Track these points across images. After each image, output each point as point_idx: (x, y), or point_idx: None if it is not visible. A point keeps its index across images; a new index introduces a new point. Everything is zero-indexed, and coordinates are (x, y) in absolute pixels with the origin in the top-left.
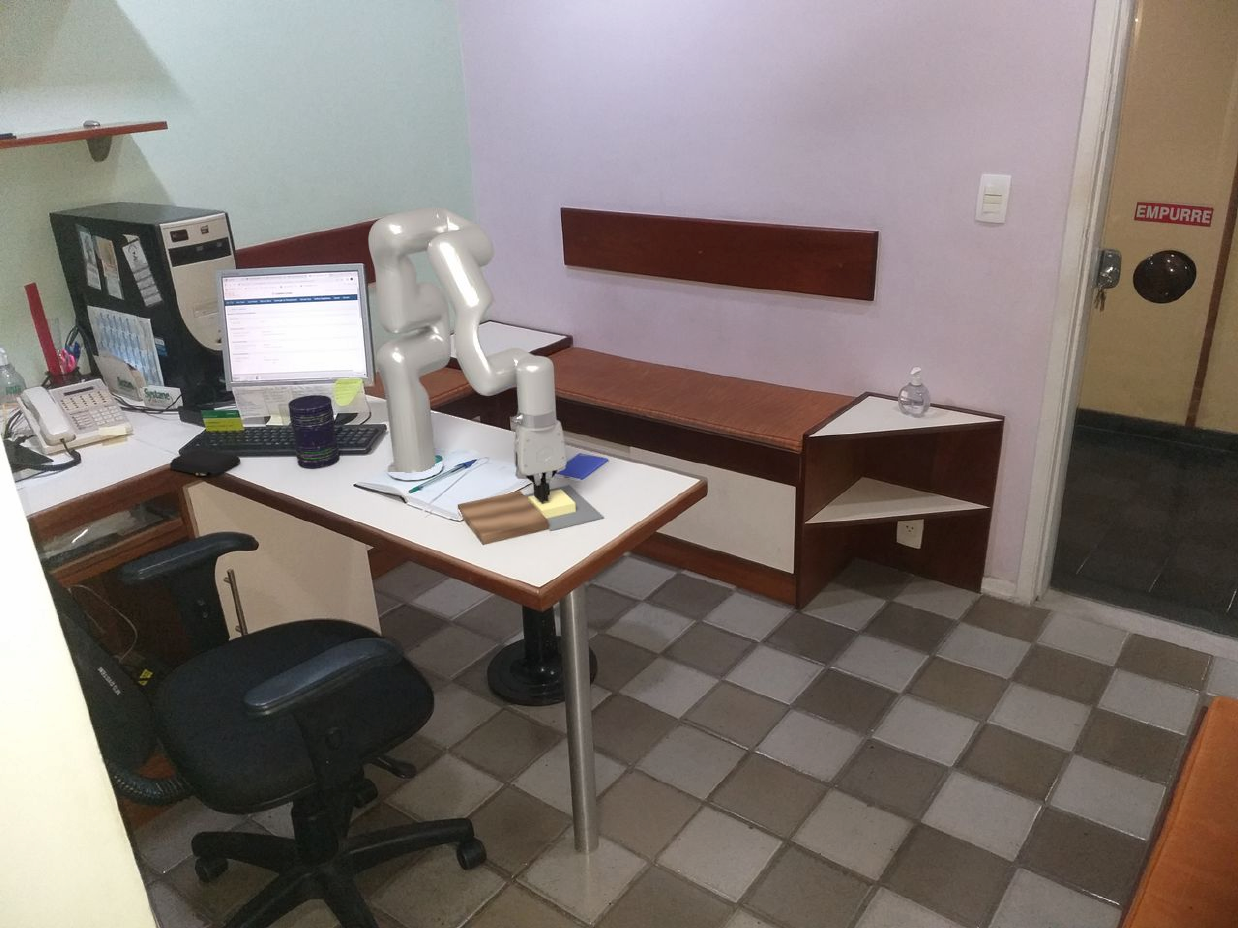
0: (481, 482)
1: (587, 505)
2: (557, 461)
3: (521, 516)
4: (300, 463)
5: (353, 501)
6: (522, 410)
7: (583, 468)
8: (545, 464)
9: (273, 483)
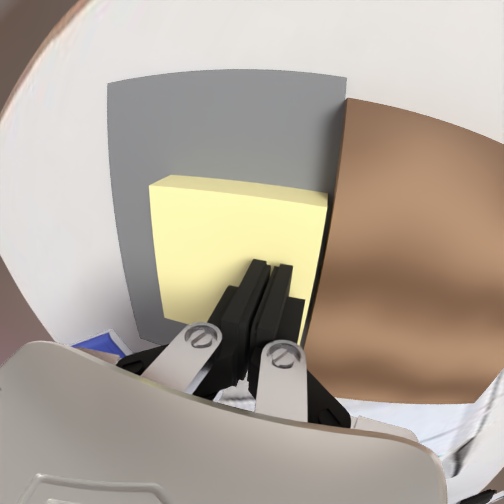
0: None
1: (122, 197)
2: (35, 409)
3: (430, 226)
4: None
5: (496, 451)
6: None
7: None
8: (155, 476)
9: (484, 482)
